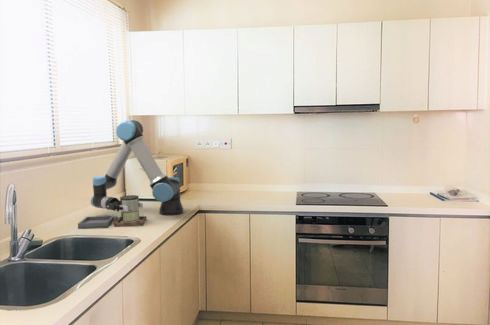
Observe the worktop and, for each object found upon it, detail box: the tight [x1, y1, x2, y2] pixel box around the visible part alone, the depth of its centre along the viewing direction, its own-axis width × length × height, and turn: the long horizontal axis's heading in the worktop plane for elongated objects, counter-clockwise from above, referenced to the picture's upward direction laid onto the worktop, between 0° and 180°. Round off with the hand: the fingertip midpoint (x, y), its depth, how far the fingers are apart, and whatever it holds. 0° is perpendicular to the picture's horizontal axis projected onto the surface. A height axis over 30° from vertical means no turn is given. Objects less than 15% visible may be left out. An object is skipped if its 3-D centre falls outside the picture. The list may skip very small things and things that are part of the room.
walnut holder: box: [113, 215, 148, 228], centre depth 237 cm, size 15×15×2 cm
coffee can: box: [119, 194, 141, 223], centre depth 237 cm, size 10×10×14 cm
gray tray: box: [77, 215, 115, 230], centre depth 235 cm, size 16×16×3 cm
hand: (135, 207), depth 234 cm, fingers closed on coffee can, 10 cm apart
